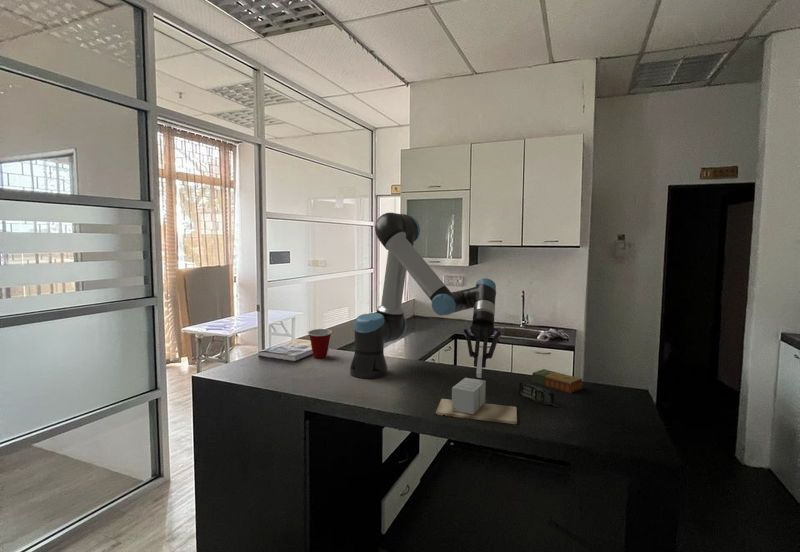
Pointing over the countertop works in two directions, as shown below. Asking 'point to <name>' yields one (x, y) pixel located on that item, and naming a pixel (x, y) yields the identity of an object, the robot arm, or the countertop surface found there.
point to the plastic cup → (320, 342)
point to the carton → (557, 380)
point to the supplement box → (468, 395)
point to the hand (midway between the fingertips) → (478, 375)
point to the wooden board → (481, 412)
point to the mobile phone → (536, 393)
